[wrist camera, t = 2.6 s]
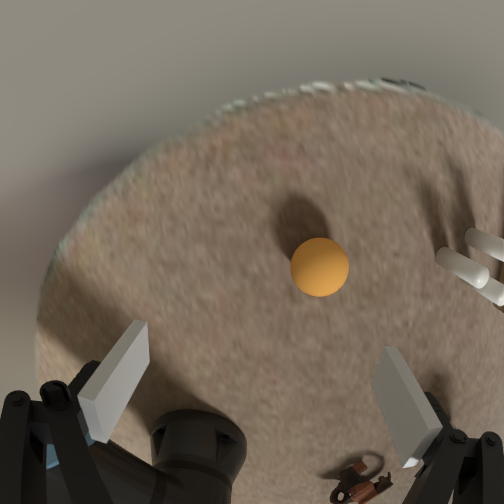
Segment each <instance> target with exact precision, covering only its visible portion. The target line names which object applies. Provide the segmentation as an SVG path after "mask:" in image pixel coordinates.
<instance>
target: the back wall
mask: <svg viewBox="0 0 504 504" xmlns="http://www.w3.org/2000/svg"><path fill="white" fill-rule="evenodd" d="M499 282H500V283H502V284H503V285H504V262H503V263H502V269H501V274H500V280H499ZM494 306H495V307H496V308H498V309H499V310H500V311H502V312H503V313H504V305H503V306H498V305H497V304H495V303H494Z"/></svg>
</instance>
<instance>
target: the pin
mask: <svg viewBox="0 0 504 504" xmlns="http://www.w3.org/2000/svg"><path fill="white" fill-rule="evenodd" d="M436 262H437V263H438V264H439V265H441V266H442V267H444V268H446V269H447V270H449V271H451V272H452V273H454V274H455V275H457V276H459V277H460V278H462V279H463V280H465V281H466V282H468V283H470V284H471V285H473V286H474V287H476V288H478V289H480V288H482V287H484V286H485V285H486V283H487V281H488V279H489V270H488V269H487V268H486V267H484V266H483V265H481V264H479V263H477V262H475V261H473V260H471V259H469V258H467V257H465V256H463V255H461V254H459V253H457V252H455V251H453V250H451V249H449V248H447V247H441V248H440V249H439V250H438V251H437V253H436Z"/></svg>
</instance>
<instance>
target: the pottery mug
mask: <svg viewBox="0 0 504 504" xmlns="http://www.w3.org/2000/svg"><path fill="white" fill-rule="evenodd" d="M366 469H367V466H366V465H365V464H364V463H363V461H359V462H357V463H356V464H354V465H353V466H351V467H350V468H348V469H346V470H345V471H343V472H342V473H341V474H340V475H339V476H340V481H341V482H339V484H338V486H337V487H336V488H335V489H334V490H333V491H332V493H331V496H330V502H331V503H333V504H348V503H350V502H358V503H359V504H366V503H367V502H369V501H370V500H372V499H373V498H375V497H376V496H378V495H379V494H381V493H382V492H384V491H385V490H387V489H388V488H390V487H391V486H392V485H393V483H392V482H391V474H390V472H388V477H384V476H381V477H379V478H378V479H379V482H376V483H374V484H373V483H372V482H371V481H364V480H363V479H362V478H361V477H360V474H361V473H362V472H363V471H365V470H366ZM340 492H342V493H344V497H343V499H342V500H341V501H339V500H338V494H339V493H340ZM349 493H350V494H351V496H350V495H349Z"/></svg>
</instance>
